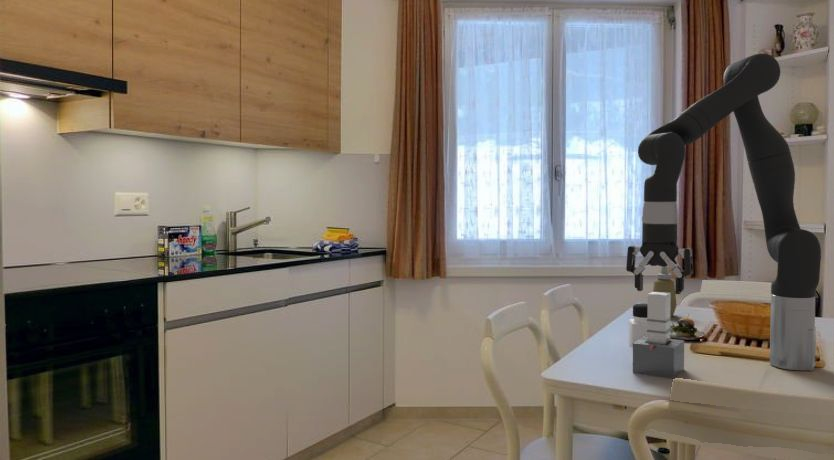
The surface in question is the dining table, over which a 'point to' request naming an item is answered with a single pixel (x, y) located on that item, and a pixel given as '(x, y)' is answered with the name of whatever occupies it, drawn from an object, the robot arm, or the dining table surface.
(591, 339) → the dining table surface
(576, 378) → the dining table surface
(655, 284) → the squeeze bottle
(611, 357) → the dining table surface
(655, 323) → the column
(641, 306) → the medicine bottle
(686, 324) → the burger
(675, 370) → the sleeve
